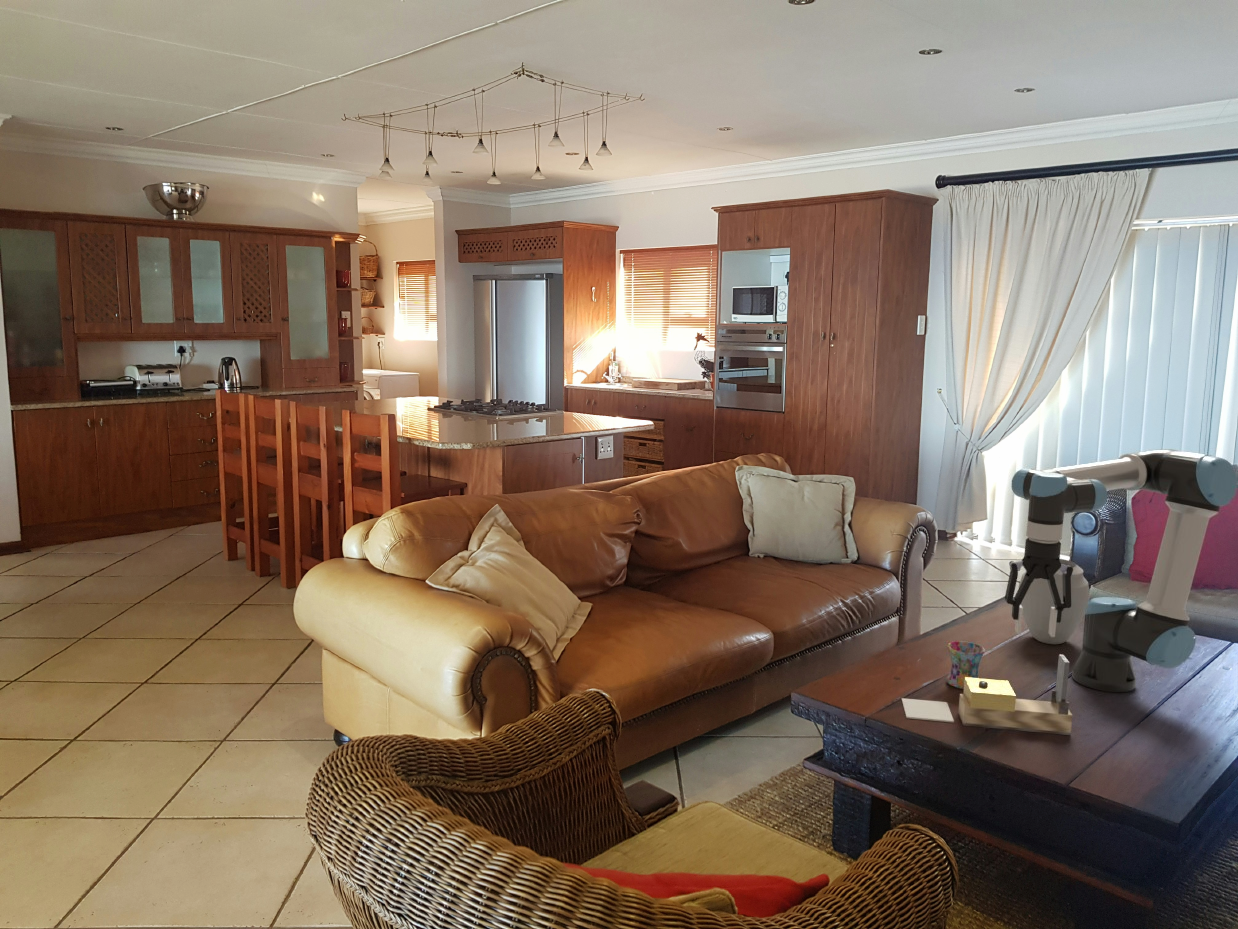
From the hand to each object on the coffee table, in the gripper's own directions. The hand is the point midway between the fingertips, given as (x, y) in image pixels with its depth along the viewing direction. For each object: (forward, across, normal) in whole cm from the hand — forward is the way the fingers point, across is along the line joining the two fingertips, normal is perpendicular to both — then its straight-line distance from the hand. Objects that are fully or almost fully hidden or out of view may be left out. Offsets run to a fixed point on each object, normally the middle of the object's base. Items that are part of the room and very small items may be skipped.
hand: (1034, 633), depth 216 cm
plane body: (+23, +3, 0) cm, 23 cm away
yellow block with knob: (+18, +9, 0) cm, 20 cm away
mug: (+23, +10, -23) cm, 34 cm away
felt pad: (+23, +22, -3) cm, 32 cm away
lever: (+17, -7, 0) cm, 18 cm away
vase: (+23, -21, -64) cm, 71 cm away
